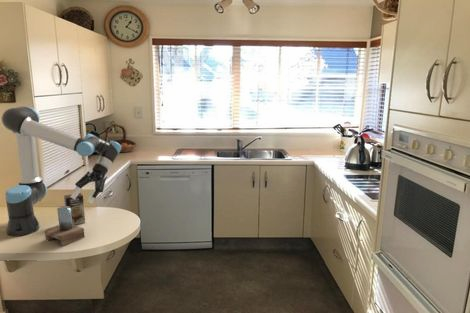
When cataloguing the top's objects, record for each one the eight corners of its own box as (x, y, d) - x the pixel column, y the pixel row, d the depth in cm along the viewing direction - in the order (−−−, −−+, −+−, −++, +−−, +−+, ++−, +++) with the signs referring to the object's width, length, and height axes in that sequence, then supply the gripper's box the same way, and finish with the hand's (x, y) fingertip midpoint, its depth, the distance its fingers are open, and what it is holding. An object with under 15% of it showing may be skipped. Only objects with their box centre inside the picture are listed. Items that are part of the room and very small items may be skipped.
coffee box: (68, 226, 196) (65, 198, 193) (66, 222, 201) (63, 195, 198) (85, 222, 201) (83, 195, 198) (83, 219, 206) (80, 192, 203)
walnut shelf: (45, 240, 179) (44, 230, 178) (67, 231, 189) (66, 222, 188) (63, 246, 172) (61, 236, 171) (84, 237, 182) (83, 228, 181)
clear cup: (57, 229, 179) (54, 208, 177) (67, 225, 184) (65, 205, 182) (64, 232, 176) (62, 211, 174) (75, 227, 181) (73, 207, 179)
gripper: (122, 173, 191) (101, 208, 182) (92, 167, 204) (71, 199, 195) (113, 165, 186) (91, 201, 176) (83, 160, 199) (60, 193, 189)
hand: (80, 200), depth 186 cm, fingers open, 13 cm apart
